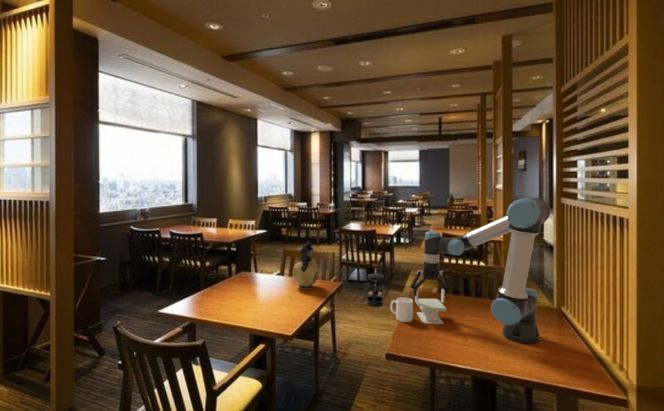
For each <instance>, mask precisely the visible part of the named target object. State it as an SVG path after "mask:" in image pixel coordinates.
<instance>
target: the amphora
mask: <svg viewBox="0 0 664 411" xmlns="http://www.w3.org/2000/svg"><path fill="white" fill-rule="evenodd" d="M297 250H298V251H299V252H300V254H301V259H300V260H299V261H298V262H297V263H295V265H294V266H293V271H292V273H293V277H294V280H295V282H296V283H297V284H298V289H300V290H311V289H313V288H314V286H313V285H314V284H315V283H316V282H317V279H318V278H319V274H320V268H319V265H318V263H316V262H314V261H313V260H312V255H313V253H314V251H316V248H315V247H313V246H312V242H311V241H310V240H309V241H306V243H304V244H303V245H302V247H299V248H297Z"/></svg>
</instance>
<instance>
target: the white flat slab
mask: <svg viewBox="0 0 664 411" xmlns="http://www.w3.org/2000/svg"><path fill="white" fill-rule="evenodd" d="M414 302H415V303H416V301H415V300H414ZM416 305H417V306H418V307H419V309H420V311H421V312H422V311H438V312H447V307H445V305H444V303H442V302H441V300H439V299H438V298H418V303H416Z"/></svg>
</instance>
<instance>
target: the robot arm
mask: <svg viewBox="0 0 664 411" xmlns="http://www.w3.org/2000/svg"><path fill="white" fill-rule="evenodd" d="M550 216H551V208H550V205H549V204H548V203H547V201H545V200H544V199H542V198H539V197H531V198H530V197H528V198H519V199H517V200H515V201H514V202H511V204H509V206H508V208H507V211H506V215H504V216H502V217H500V218H498V219H494V220H493V221H491V222H489V223H486V224H485V225H481V226H480V227H477V228H475V229H473V230H471V231H469V232H467V233H464V234H462V235H459V236H455V237H444V236H441V232H439V231H436V230H435V231H434V230H429V231H426V232H425V235H424V250H423V252H424V255H423V256H424V257H423V270H419V269H417V270H416V275H415V276H414V278H413V280H412V281H411V283H410V286H409V287H410V288H411V289H413V296H414V298H415V299H414V302H415V301H416V302H415V303H418V299H419V287H421V286H422V285H423V283H425V282H426V281H427V280H428V281H430V280H432V281H434V280H436V281H437V283H438V284H439V285H440V286H441V293H440V295H441V296H440V298H441V299H440V302H441V303H442V304H444V303H445V297H446V296H447V291H448V290H451V285H450V284H449V281H448V279H447V276H446V272H445V271H444V270H439V269H440V268H439V267H440V263H439V262H440V253H444V254H449V255H452V256H460V255H462V254H463V253H464V252H465V251H468V250H469V251H470V250H471V249H472V248H475V247H477V246H479V245H482V244H484V243H486V242H489V241H491V240H493V239H495V238H496V239H497V238H498V237H501V236H504V235H506V234H509V233H511V234H510V240H509V246H508V252H507V259H506V264H505V270H504V275H503V276H504V277H503V281H502V282H503V283H502V285H501V286H500V287H498V289H497V293H496V298H495V299H494V300H493V301H492V303H491V306H490V310H491V313H492V315H493V317H494V318H495V319H496V320H497V321H498V323H500V324H503V327H502V335H503V337H504V338H506V339H508V340H510V341H513V342H516V343H520V344H526V345H528V344H529V345H532V344H538V343H539V342H540V336H541V335H540V332H539V329H538V324H537V308H538V307H537V306H538V305H537V304H538V292H537V290H536V289H533V288H531V287H527V286H526V285H527V281H528V277H529V270H530V265H531V259H532V253H533V247H534V242H535V238H536V236H538V235H539V234H541V227H542V224H544V223H545V222H546V221H547V220H548V219H549V218H550ZM422 275H423V276H422ZM439 275H440V276H441V278H442V280H443V282H444V283H443V282H442V281H441V279H440V278H439V277H438V276H439ZM421 276H422V277H421ZM420 277H421V278H420ZM418 280H419V281H418Z"/></svg>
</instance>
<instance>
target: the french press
mask: <svg viewBox="0 0 664 411" xmlns="http://www.w3.org/2000/svg"><path fill="white" fill-rule="evenodd" d="M371 266H372V267H374V269H375V270H374V272H375V273H368V274H367V277H368V280H369V282H365V283H364V284H363V287H364V288H363V298H364V299H365V300H367V301H366V305H367V306H368V307H372V308H380V307H383V306H384V283H383V282H381V279H382V278H384V274H381V273H377V268H378V267H380V265H379V264H372V265H371ZM366 285H367V288H370V289H372V290H370V291H369V289H367V290H366ZM379 289H382V291H379ZM366 291H367V296H366Z"/></svg>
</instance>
